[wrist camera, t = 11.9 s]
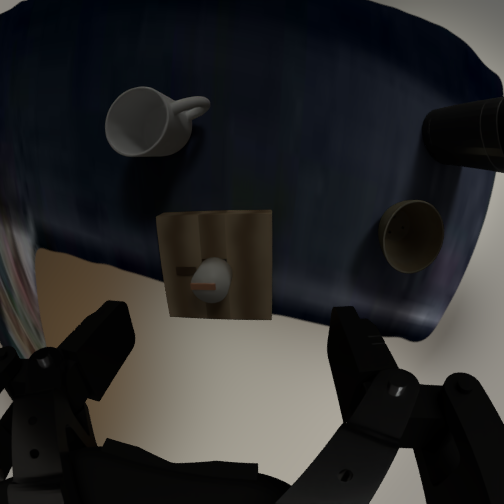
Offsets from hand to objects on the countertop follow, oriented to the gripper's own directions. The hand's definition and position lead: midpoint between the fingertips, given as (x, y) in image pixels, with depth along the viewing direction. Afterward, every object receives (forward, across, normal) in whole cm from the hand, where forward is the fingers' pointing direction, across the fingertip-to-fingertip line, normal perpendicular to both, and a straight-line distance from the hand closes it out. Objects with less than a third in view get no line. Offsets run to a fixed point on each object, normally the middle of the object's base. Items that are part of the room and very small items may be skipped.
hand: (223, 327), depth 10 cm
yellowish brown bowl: (+30, -21, +3) cm, 37 cm away
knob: (+30, +6, +9) cm, 32 cm away
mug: (+30, +11, -12) cm, 34 cm away
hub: (+30, +6, +9) cm, 32 cm away
